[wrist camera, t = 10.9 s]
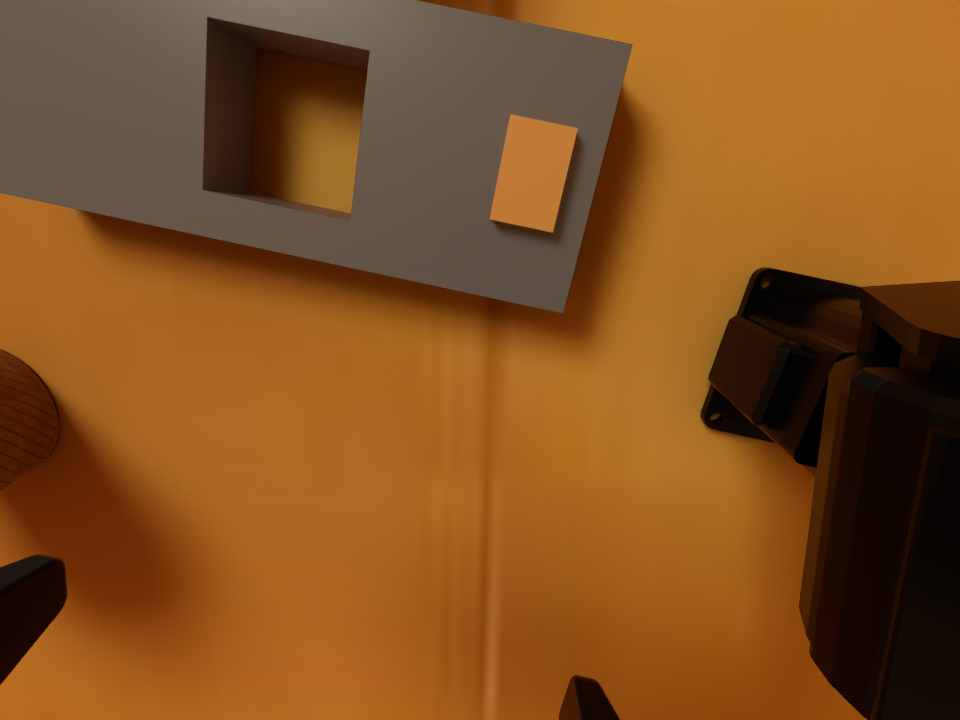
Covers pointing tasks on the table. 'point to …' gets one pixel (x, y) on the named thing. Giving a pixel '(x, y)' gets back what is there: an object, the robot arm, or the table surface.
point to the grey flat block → (383, 138)
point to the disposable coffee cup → (23, 420)
